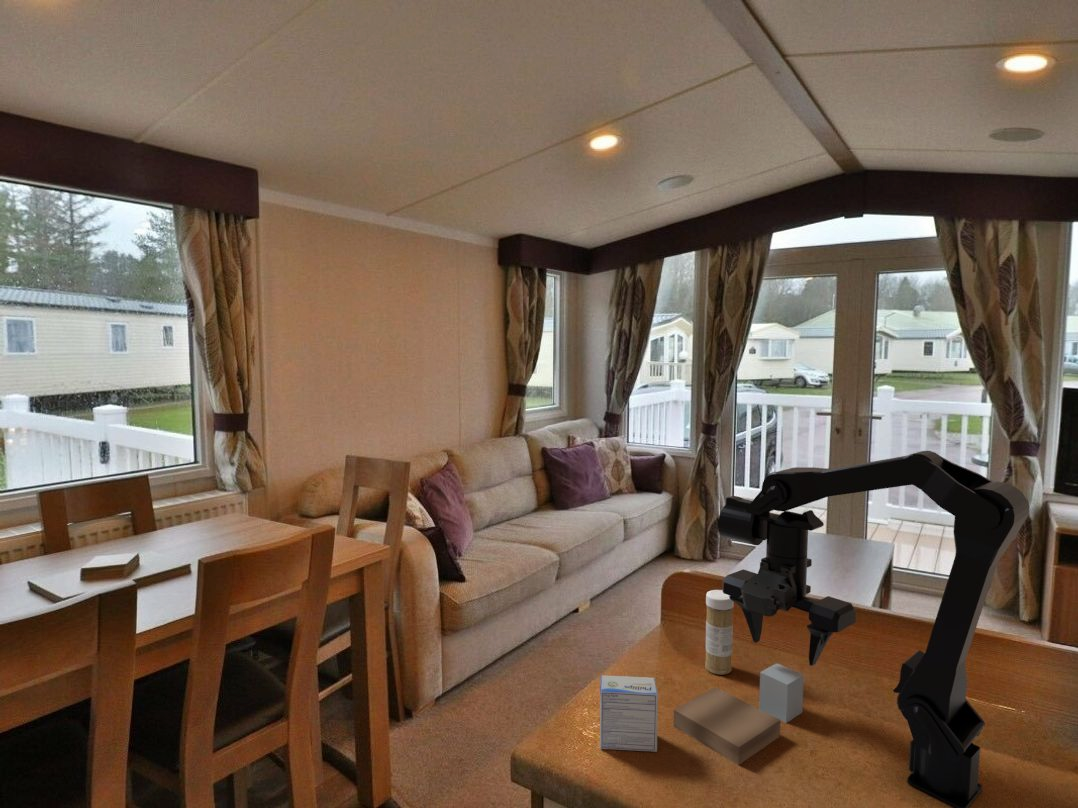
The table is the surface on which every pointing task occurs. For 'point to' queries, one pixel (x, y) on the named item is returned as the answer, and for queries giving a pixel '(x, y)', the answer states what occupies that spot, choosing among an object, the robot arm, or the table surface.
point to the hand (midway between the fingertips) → (783, 652)
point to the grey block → (781, 692)
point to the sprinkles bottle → (719, 632)
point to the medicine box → (628, 713)
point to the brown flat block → (727, 725)
